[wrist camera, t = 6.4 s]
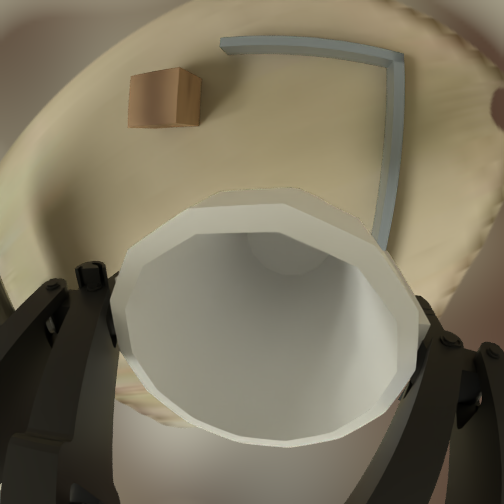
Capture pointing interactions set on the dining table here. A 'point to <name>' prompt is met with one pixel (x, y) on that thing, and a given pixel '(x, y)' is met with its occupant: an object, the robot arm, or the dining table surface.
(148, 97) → the walnut block
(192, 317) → the foam cup
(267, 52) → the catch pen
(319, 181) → the dining table surface
